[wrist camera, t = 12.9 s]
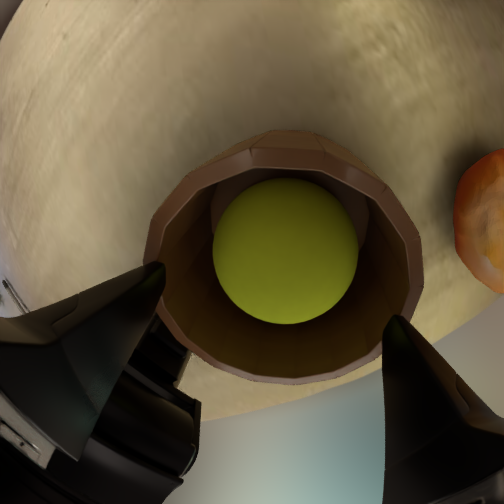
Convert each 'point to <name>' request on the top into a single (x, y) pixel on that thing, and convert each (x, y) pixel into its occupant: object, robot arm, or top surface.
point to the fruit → (482, 220)
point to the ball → (285, 250)
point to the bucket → (272, 334)
